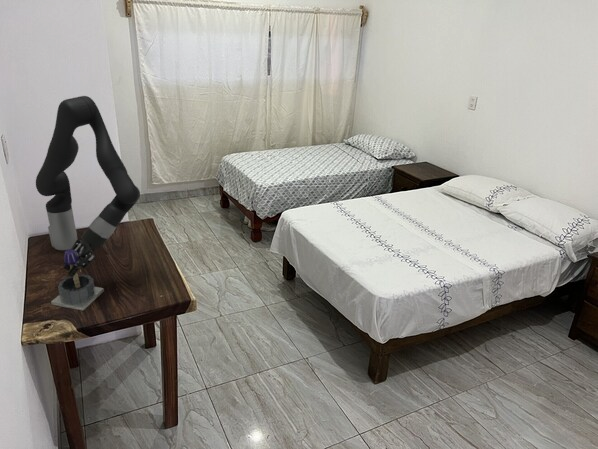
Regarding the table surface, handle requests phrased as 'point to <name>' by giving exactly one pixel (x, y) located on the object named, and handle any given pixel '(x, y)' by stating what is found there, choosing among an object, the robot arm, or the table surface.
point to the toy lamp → (70, 260)
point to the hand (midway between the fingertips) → (67, 272)
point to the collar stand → (77, 293)
